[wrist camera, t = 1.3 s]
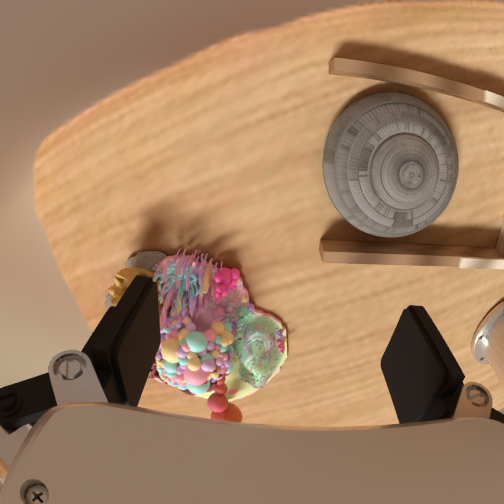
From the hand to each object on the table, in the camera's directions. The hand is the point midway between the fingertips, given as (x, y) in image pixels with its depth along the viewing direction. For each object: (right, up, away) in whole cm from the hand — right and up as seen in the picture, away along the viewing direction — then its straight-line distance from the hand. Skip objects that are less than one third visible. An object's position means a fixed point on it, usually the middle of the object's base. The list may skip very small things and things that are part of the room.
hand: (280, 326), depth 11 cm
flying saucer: (+13, +12, +18) cm, 25 cm away
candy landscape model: (-8, -8, +29) cm, 31 cm away
